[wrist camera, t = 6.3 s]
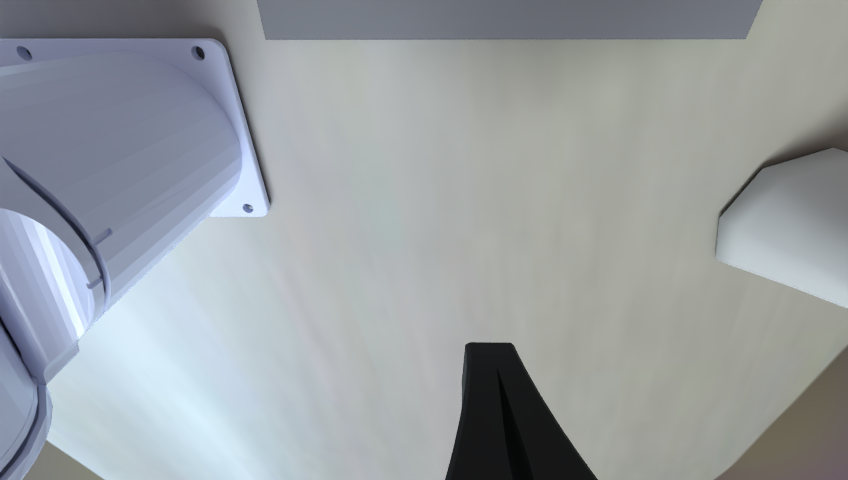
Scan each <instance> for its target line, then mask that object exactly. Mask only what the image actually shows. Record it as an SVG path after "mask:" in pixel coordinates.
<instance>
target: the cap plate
mask: <svg viewBox="0 0 848 480" xmlns="http://www.w3.org/2000/svg"><path fill="white" fill-rule="evenodd" d="M762 1H763V0H257V3H258V7H259V12H260V16H261V21H262V25H263V30H264V34H265V39H266V40H426V39H746V37H747V35H748V32H749V30H750V28H751V26H752V23H753V21H754V19H755V17H756V14H757V12H758V10H759V8H760V5H761V3H762Z"/></svg>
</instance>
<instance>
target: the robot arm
mask: <svg viewBox="0 0 848 480" xmlns="http://www.w3.org/2000/svg"><path fill="white" fill-rule="evenodd" d="M197 46H198V47H200V48H201V49H202V50H203V52H204V53H205V58H204V59H202V58H200V57H199V56H198V54H197V50H196V48H197ZM26 49H28V51H29V52H30V53H31V55H32V57H31V56H30V55H29V54H28V53H27V50H26ZM246 204H249V205H251V206H252V208H253V209H250V208H248V207H247V206H246ZM269 210H270V204H269V200H268V197H267V193H266V190H265V186H264V182H263V179H262V175H261V172H260V168H259V165H258V161H257V157H256V154H255V150H254V147H253V143H252V140H251V136H250V133H249V129H248V125H247V122H246V118H245V115H244V111H243V108H242V104H241V100H240V97H239V93H238V90H237V86H236V83H235V79H234V75H233V72H232V68H231V65H230V61H229V58H228V54H227V51H226V49H225V47H224V46H223V45H222V44H221V42H219V41H217V40H216V39H212V38H21V39H0V480H22V479H23V477H24V476H25V475H26V473H27V472H28V470H29V469H30V468H31V466H32V465H33V463H34V462H35V460H36V458H37V457H38V455H39V453H40V451H41V449H42V447H43V445H44V443H45V441H46V438H47V435H48V432H49V429H50V425H51V419H52V407H53V406H52V401H51V396H50V392H49V390H48V388H47V387H46V384H47V383H48V382H49V381H50V380H51V379H52V378H53V377H54V376H55V375H56V374H57V373H58V372H60V371H61V370H62V369H63V368H64V367H65V366H66V365H67V364H68V363H69V362H70V361H71V360H72V359H73V358H74V357H75V356H76V355H77V354H78V353H79V347H78V339H79V338H80V337H81V336H82V335H83V334H84V333H85V332H86V331H87V330H88V329H89V328H90V327H91V326H92V325H93V324H94V323H95V322H96V321H97V320H98V319H99V318H100V317H101V316H102V315H104V314H105V313H106V312H107V311H108V310H109V309H110V308H111V307H112V306H113V305H114V304H115V303H116V302H117V301H118V300H119V299H120V298H122V297H123V296H124V295H125V294H126V293H127V292H128V291H129V290H130V289H131V288H132V287H133V286H134V285H135V284H136V283H137V282H138V281H140V280H141V279H142V278H143V277H144V276H145V275H146V274H147V273H148V272H149V271H150V270H151V269H152V268H153V267H154V266H155V265H156V264H158V263H159V262H160V261H161V260H162V259H163V258H164V257H165V256H166V255H167V254H168V253H169V252H170V251H171V250H172V249H173V248H174V247H176V246H177V245H178V244H179V243H180V242H181V241H182V240H183V239H184V238H185V237H186V236H187V235H188V234H189V233H190V232H191V231H192V230H194V229H195V228H196V227H197V226H198V225H199V224H200V223H201V222H202V221H203V220H204V219H205V218H206V217H207V216H252V217H261V216H265V215H266V214H267V213H268V212H269ZM445 480H598V479H597V478H596V477H595V475H594V474H593V473H592V471H591V470H590V468H589V467H588V466H587V464H586V463H585V462H584V460H583V459H582V457H581V456H580V455H579V453H578V452H577V450H576V449H575V447H574V446H573V445H572V443H571V442H570V440H569V439H568V437H567V436H566V434H565V433H564V431H563V430H562V428H561V427H560V425H559V424H558V422H557V421H556V419H555V418H554V416H553V414H552V413H551V411H550V410H549V408H548V406H547V405H546V403H545V402H544V400H543V398H542V397H541V395H540V393H539V392H538V390H537V388H536V387H535V385H534V383H533V381H532V379H531V378H530V376H529V374H528V372H527V370H526V369H525V367H524V365H523V363H522V361H521V359H520V357H519V355H518V353H517V351H516V349H515V347H514V345H513V344H512V343H476V342H470V343H468V344H466V345H465V355H464V365H463V375H462V410H461V416H460V421H459V426H458V430H457V435H456V439H455V444H454V448H453V452H452V456H451V460H450V464H449V468H448V472H447V475H446V479H445Z"/></svg>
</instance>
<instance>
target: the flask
mask: <svg viewBox="0 0 848 480" xmlns="http://www.w3.org/2000/svg"><path fill="white" fill-rule="evenodd" d="M716 260H718V261H721V262H724V263H726V264H729V265H731V266H734V267H737V268H740V269H743V270H745V271H748V272H751V273H754V274H757V275H760V276H762V277H765V278H768V279H771V280H774V281H777V282H779V283H782V284H785V285H788V286H791V287H793V288H796V289H798V290H801V291H804V292H806V293H809V294H811V295H814V296H817V297H819V298H822V299H824V300H827V301H829V302H832V303H835V304H837V305H840V306H842V307H845V308H848V152H846V151H843V150H840V149H837V148H834V147H833V148H830V149H827V150H823V151H820V152H817V153H813V154H810V155H807V156H803V157H800V158H797V159H793V160H790V161H786V162H783V163H780V164H776V165H773V166H770V167H766V168H763V169H762V170H761V171H760V172H759V173H758V174H757V176H756V177H755V178H754V179H753V180H752V181H751V183H750V184H749V185H748V186H747V187H746V188H745V189H744V191H743V192H742V193H741V194H740V195H739V196H738V197H737V199H736V200H735V201H734V202H733V203H732V204H731V205H730V207H729V208H728V209H727V210H726V211H725V212H724V213H723V215H722V216H721V217H720V218H719V226H718V237H717V248H716Z"/></svg>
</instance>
